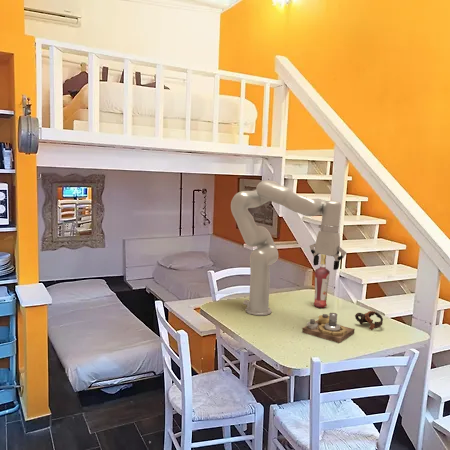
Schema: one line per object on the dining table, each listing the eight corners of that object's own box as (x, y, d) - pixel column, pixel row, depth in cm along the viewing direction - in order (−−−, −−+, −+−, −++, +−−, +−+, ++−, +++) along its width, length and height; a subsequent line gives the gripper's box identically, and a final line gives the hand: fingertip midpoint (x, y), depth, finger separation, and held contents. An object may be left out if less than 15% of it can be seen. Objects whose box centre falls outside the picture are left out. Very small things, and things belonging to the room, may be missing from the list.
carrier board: (302, 332, 187) (303, 318, 187) (318, 323, 199) (319, 311, 198) (339, 343, 177) (340, 328, 176) (354, 333, 188) (355, 320, 188)
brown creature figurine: (377, 324, 203) (384, 312, 198) (377, 339, 196) (385, 327, 191) (352, 315, 205) (358, 303, 200) (351, 330, 197) (358, 318, 192)
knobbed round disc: (321, 330, 185) (323, 313, 184) (328, 327, 190) (329, 310, 189) (335, 334, 181) (337, 317, 180) (342, 330, 186) (343, 313, 185)
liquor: (324, 309, 220) (327, 255, 217) (310, 307, 225) (314, 253, 221) (329, 306, 227) (333, 253, 223) (316, 303, 231) (319, 251, 227)
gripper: (307, 226, 194) (304, 264, 196) (344, 232, 183) (339, 272, 185) (316, 225, 199) (312, 262, 202) (351, 231, 188) (347, 270, 191)
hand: (325, 267), depth 193 cm, fingers open, 9 cm apart
